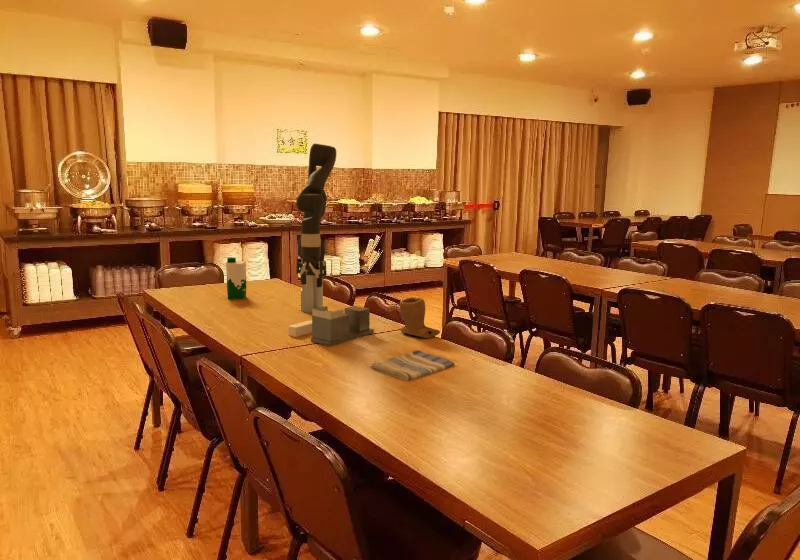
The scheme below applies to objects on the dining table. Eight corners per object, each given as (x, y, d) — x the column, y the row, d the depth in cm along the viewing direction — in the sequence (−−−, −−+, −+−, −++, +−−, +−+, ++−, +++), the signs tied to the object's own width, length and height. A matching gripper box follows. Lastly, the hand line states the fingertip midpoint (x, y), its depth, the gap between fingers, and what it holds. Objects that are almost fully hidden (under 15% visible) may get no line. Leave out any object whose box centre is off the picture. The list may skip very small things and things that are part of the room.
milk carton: (230, 295, 307) (229, 256, 303) (248, 296, 307) (247, 257, 303) (225, 299, 298) (224, 259, 295) (243, 299, 298) (242, 259, 295)
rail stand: (310, 341, 229) (310, 309, 227) (354, 328, 249) (355, 298, 247) (330, 346, 224) (330, 313, 221) (373, 332, 243) (374, 302, 241)
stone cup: (392, 333, 242) (393, 296, 240) (414, 329, 250) (415, 293, 248) (419, 342, 231) (420, 303, 229) (440, 336, 239) (442, 299, 237)
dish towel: (368, 369, 200) (368, 361, 200) (418, 355, 216) (418, 347, 216) (406, 383, 188) (406, 374, 187) (455, 367, 204) (455, 359, 204)
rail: (288, 335, 238) (288, 325, 237) (324, 326, 253) (324, 316, 253) (295, 337, 235) (295, 327, 235) (331, 327, 251) (331, 318, 250)
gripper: (291, 244, 239) (291, 285, 242) (317, 247, 231) (317, 289, 234) (304, 242, 245) (305, 282, 248) (330, 245, 237) (331, 286, 240)
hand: (311, 285), depth 241 cm, fingers open, 8 cm apart
